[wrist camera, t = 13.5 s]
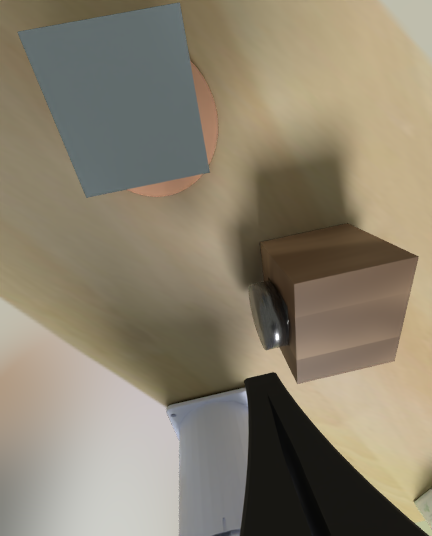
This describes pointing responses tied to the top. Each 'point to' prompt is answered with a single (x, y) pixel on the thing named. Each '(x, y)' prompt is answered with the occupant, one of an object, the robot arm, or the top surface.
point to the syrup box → (425, 506)
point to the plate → (209, 133)
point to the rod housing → (339, 298)
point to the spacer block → (121, 97)
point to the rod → (269, 314)
